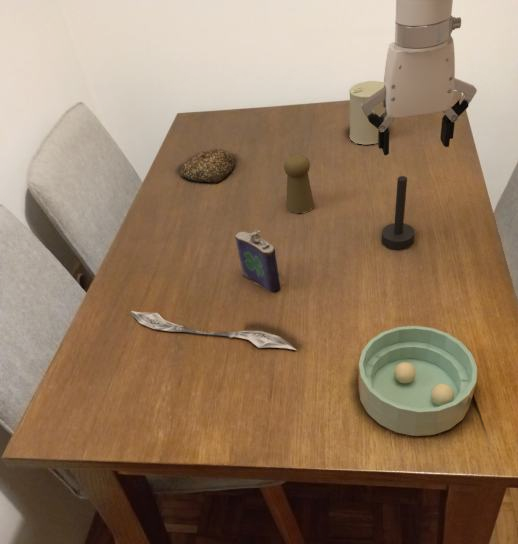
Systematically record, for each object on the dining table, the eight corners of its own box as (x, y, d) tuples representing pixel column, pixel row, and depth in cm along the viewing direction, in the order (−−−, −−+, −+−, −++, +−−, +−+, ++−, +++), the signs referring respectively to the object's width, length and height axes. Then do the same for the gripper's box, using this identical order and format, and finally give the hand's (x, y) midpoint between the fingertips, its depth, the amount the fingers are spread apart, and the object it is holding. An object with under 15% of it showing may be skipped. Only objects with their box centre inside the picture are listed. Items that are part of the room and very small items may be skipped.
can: (344, 132, 133) (344, 83, 124) (379, 125, 133) (381, 75, 124) (355, 148, 126) (356, 97, 118) (392, 141, 127) (395, 89, 118)
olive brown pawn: (282, 213, 111) (277, 164, 103) (290, 197, 115) (285, 149, 107) (310, 214, 109) (307, 165, 101) (317, 199, 113) (314, 150, 105)
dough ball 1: (407, 377, 73) (398, 359, 74) (395, 388, 75) (387, 370, 76) (423, 375, 74) (414, 357, 75) (411, 386, 76) (402, 368, 78)
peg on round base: (414, 232, 101) (421, 169, 92) (413, 251, 97) (420, 187, 88) (382, 231, 102) (385, 169, 93) (380, 249, 98) (383, 187, 89)
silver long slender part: (132, 310, 95) (119, 329, 92) (131, 307, 95) (118, 326, 92) (303, 332, 86) (296, 354, 83) (303, 329, 85) (295, 351, 82)
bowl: (454, 350, 79) (460, 321, 75) (483, 434, 69) (491, 407, 65) (353, 357, 81) (353, 330, 77) (365, 441, 70) (366, 415, 66)
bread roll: (216, 188, 122) (212, 168, 118) (175, 179, 127) (169, 159, 124) (245, 162, 129) (242, 142, 125) (205, 154, 134) (201, 135, 131)
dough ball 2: (450, 378, 70) (427, 382, 72) (451, 399, 69) (428, 402, 71) (455, 387, 73) (433, 390, 74) (457, 407, 71) (435, 410, 73)
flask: (239, 275, 98) (230, 226, 91) (251, 267, 100) (243, 219, 92) (273, 295, 93) (267, 246, 86) (285, 287, 94) (279, 237, 87)
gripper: (477, 15, 76) (462, 130, 89) (357, 34, 78) (359, 144, 90) (493, 30, 71) (474, 150, 83) (364, 50, 73) (364, 165, 85)
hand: (414, 147), depth 87 cm, fingers open, 9 cm apart
